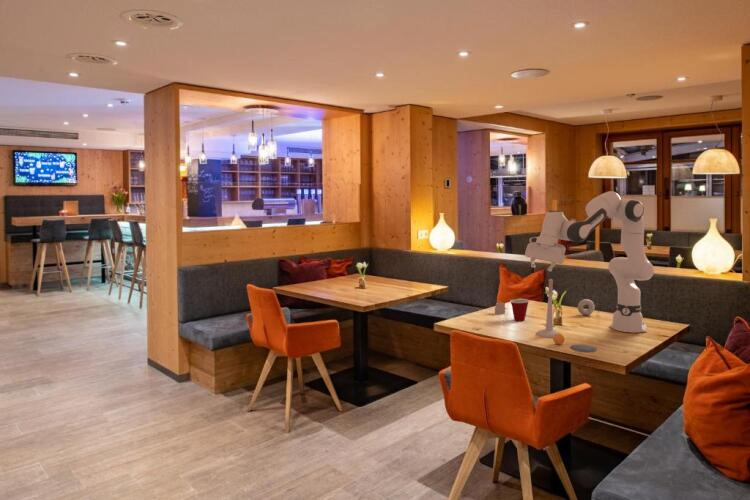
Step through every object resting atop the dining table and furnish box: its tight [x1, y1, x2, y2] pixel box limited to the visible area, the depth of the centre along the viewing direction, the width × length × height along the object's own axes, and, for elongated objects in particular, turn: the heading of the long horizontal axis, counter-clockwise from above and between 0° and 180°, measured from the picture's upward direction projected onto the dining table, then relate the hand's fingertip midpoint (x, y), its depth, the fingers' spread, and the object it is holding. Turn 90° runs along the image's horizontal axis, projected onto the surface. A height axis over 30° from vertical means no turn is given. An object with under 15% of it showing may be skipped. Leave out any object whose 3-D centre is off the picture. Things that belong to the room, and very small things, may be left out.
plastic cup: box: [509, 298, 530, 322], centre depth 324 cm, size 11×11×12 cm
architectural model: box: [494, 301, 507, 315], centre depth 342 cm, size 3×7×7 cm, turn 90°
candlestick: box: [535, 278, 562, 339], centre depth 292 cm, size 13×13×30 cm
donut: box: [577, 298, 596, 316], centre depth 336 cm, size 10×4×10 cm, turn 87°
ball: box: [552, 332, 565, 345], centre depth 275 cm, size 6×6×6 cm
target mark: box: [569, 344, 598, 353], centre depth 268 cm, size 12×12×1 cm
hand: (540, 269), depth 275 cm, fingers open, 8 cm apart
